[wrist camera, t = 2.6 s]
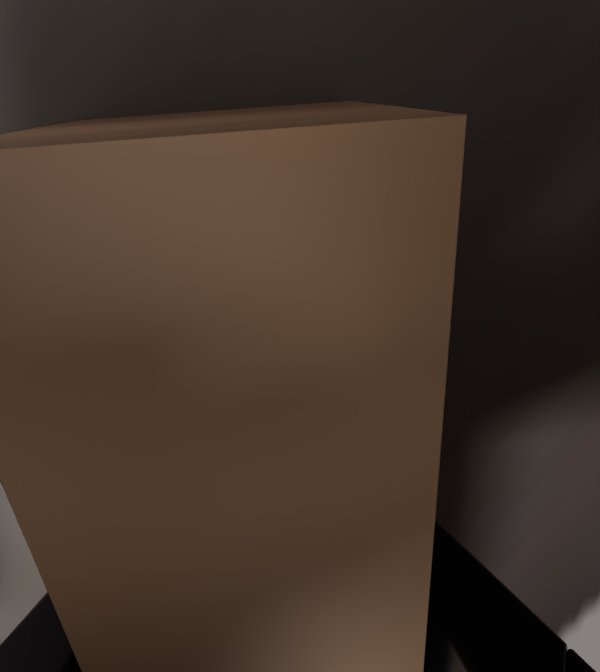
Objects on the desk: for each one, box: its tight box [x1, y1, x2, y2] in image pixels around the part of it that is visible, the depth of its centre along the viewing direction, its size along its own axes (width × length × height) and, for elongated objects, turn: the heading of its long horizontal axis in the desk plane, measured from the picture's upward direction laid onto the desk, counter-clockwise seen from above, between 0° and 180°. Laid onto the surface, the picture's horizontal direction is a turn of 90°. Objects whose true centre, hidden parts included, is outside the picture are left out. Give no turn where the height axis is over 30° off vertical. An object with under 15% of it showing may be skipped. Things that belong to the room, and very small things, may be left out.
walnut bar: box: [0, 101, 467, 672], centre depth 7 cm, size 12×4×4 cm, turn 4°
